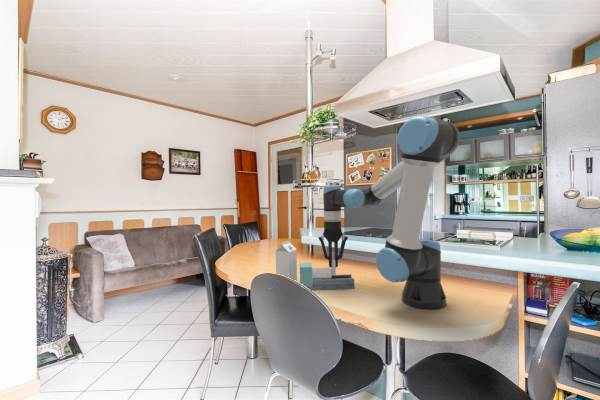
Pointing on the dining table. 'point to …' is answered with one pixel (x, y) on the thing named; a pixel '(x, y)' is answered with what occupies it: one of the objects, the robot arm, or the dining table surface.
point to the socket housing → (306, 274)
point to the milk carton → (286, 260)
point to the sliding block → (321, 273)
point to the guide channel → (334, 283)
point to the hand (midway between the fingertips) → (333, 274)
